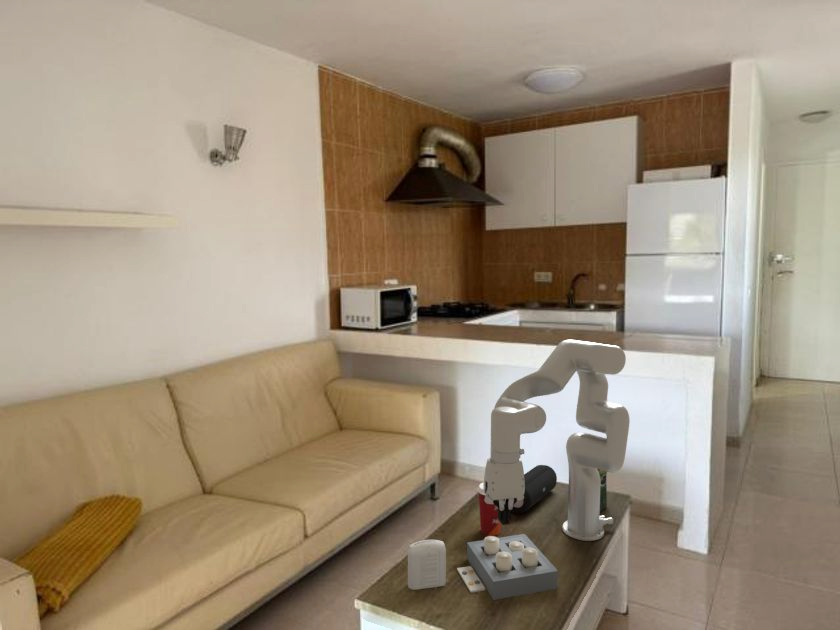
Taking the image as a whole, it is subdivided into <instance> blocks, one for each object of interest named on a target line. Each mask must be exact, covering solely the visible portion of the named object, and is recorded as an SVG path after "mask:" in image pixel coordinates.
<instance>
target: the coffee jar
mask: <svg viewBox="0 0 840 630" xmlns="http://www.w3.org/2000/svg"><path fill="white" fill-rule="evenodd" d="M597 470H598V472H599V475H600V480H601V486H600V512H601V511H602V510H604V509H605V508H606V507H607V505H608V495H607V494H608V490H607V487H608V485H607V477H608V476H607V473H608V472H606V471H603V470H600V469H597Z"/></svg>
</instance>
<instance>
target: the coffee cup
mask: <svg viewBox="0 0 840 630" xmlns="http://www.w3.org/2000/svg"><path fill="white" fill-rule="evenodd" d="M483 485H484V481H483V482H480V483H479V485H478V488H477V493H478V504H479V506H478V507H479V522H480V532H481V534H482V535H484V536H485V537H488V536H494V537H497V536H498V535H500V533H501V526H502V525H501V524H502V523H501V522H500V521H499V520H498V507H497V506H495V505H494V504H487V503H486V502H485V501H484V499H485V495H486V494H485V493H484V491H483Z"/></svg>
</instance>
